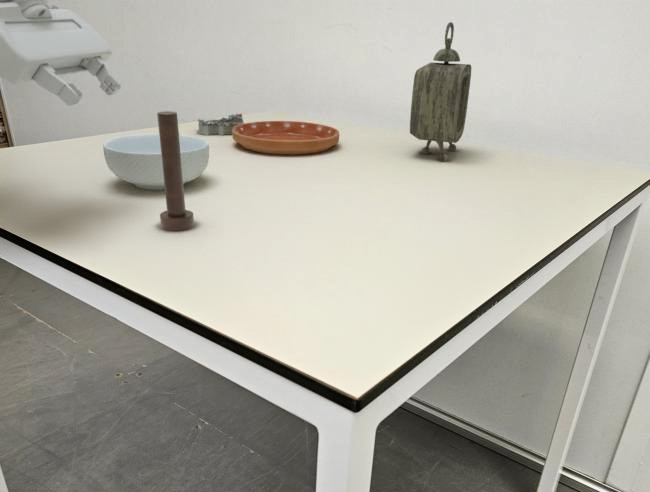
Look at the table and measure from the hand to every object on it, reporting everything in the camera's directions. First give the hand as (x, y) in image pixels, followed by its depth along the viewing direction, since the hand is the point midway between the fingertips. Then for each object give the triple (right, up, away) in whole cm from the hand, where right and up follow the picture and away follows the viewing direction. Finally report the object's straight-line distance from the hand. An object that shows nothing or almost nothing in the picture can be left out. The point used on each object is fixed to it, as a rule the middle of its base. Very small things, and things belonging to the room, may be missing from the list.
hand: (97, 96), depth 76 cm
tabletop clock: (+52, +6, +50) cm, 72 cm away
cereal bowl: (+1, -5, +25) cm, 26 cm away
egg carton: (+4, +16, +66) cm, 68 cm away
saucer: (+20, +10, +55) cm, 59 cm away
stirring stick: (+9, -16, +6) cm, 19 cm away
